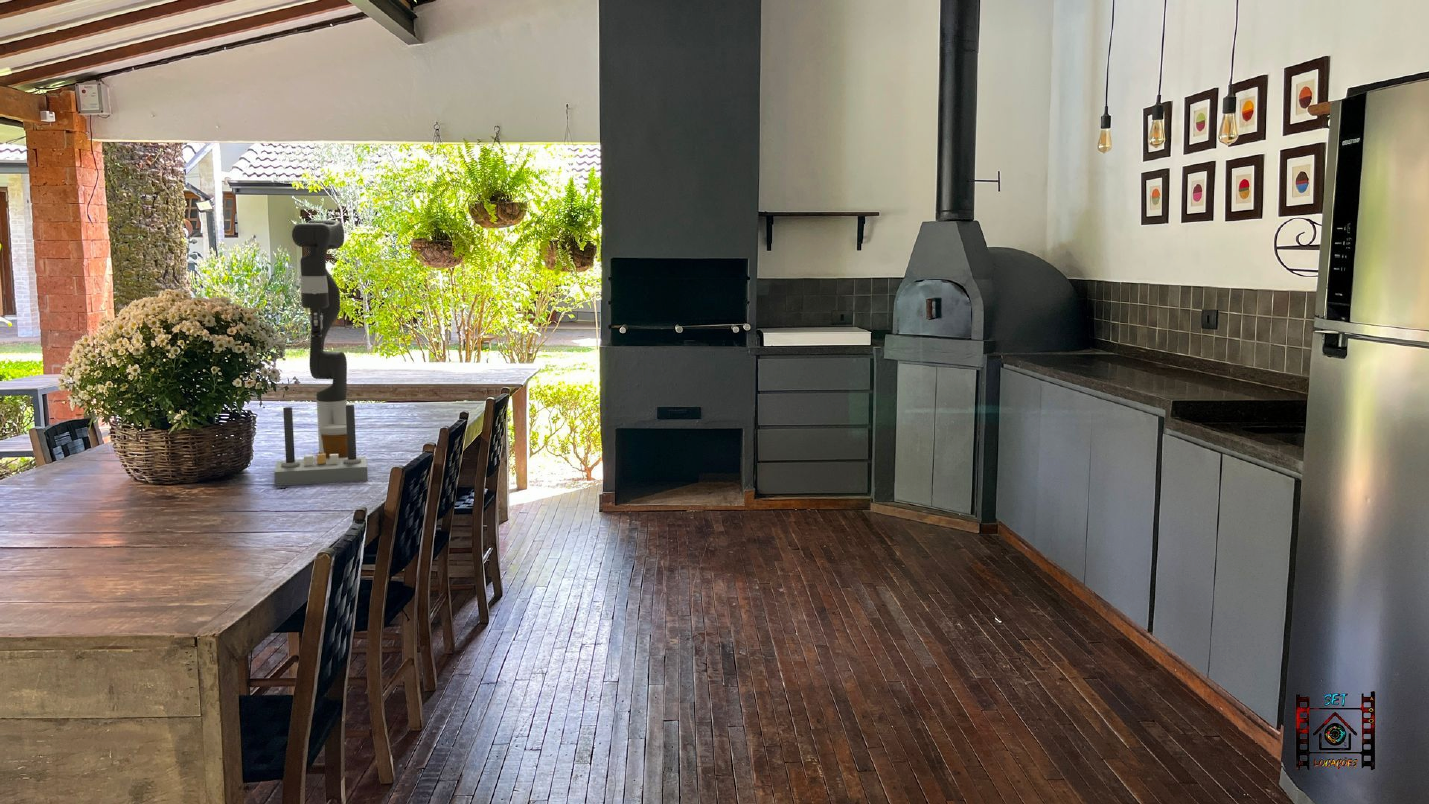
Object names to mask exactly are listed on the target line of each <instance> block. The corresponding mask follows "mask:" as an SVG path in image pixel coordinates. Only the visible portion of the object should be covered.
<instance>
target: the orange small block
mask: <svg viewBox="0 0 1429 804" xmlns="http://www.w3.org/2000/svg"><path fill="white" fill-rule="evenodd" d="M316 459H317V464H323V463H326V453H325V454H324V453H316Z"/></svg>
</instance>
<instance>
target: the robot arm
mask: <svg viewBox="0 0 1429 804" xmlns="http://www.w3.org/2000/svg"><path fill="white" fill-rule="evenodd" d="M291 238H292V241H293V243H294V244H295V245H296V246H297V247H299V248H307V251H308V253H307V254H308V255H307V254H306V255H303V256H302V257H301V258H300V261H299V262H300V294H301V295H300V296H301V307H302V308H304V309H309V313H308V320H309V327H310V328H309V329H310V346H309V347H310V348H309V370H310V371H309V372H310V375H311V377H312V378H313V379H314V380H315V379H316V380H332V384H331V385H330V386H328V387H326V388H323V389H320V390H318V391H317V392H316V395H315V397H316V415H317V417H316V418H317V433H318V434H317V437H318V452H319V454H324V449H323V443H322V437H321V434H320V432H319V430H320V427H321V426H323V425H328V424H346V405H348V404H347V403H348V402H347V391H348V389H347V387H348V386H347V385H348V381H347V380H348V379H347V378H348V377H347V376H348V361H347V357H346V354H345V353H344V352H343V351H341V350H325V347H324V346H325V340H326V337H327V334H328V332H329V331H330V329H331V328H332V326H333V324H334V323H335V321H336V320H337V318H338V317H339V314H340V311H341V294H340V293H341V291H340V287H339V286H338V284H337V282H336V281H335V279H334V278H333V277H332V275H331V274H330V272H329V271H328V269H327V265H326V264H327V254H328V250H336V249H340V248H342V247H343V245H344V242H345V228H344V226H343V223H342V222H340V221H339V220H334V219H310V220H309V221H308V222H299V223H296V224H295V225H294V226H293V228H292V231H291Z"/></svg>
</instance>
